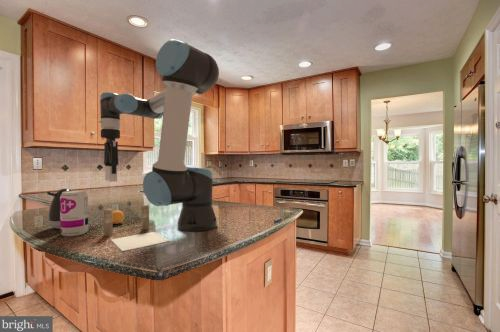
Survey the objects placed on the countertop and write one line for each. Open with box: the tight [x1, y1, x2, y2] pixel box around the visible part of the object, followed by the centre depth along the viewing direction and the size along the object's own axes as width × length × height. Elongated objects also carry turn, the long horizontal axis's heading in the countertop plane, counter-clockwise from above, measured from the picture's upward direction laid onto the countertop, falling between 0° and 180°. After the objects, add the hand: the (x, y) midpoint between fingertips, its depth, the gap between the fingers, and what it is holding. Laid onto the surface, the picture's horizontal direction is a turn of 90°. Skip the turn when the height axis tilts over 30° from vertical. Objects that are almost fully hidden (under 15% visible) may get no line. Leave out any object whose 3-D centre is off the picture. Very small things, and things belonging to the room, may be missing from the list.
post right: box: [141, 204, 150, 231], centre depth 96 cm, size 3×3×9 cm
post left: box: [103, 208, 114, 237], centre depth 88 cm, size 3×3×9 cm
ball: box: [112, 209, 125, 225], centre depth 104 cm, size 6×6×6 cm
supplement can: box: [59, 190, 89, 237], centre depth 90 cm, size 8×8×15 cm
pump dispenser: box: [46, 188, 72, 230], centre depth 98 cm, size 10×10×15 cm
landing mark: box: [110, 231, 170, 252], centre depth 82 cm, size 14×14×1 cm
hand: (111, 180), depth 111 cm, fingers open, 8 cm apart
